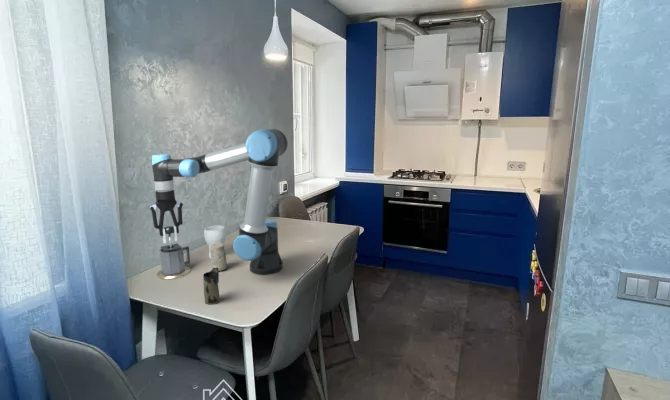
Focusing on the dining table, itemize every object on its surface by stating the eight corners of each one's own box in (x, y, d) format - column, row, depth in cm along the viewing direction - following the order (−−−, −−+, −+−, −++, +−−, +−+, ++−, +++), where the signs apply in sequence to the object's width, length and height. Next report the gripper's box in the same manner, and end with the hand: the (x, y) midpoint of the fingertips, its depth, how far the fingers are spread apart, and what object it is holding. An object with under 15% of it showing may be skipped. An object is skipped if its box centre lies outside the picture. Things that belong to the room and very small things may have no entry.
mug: (215, 305, 136) (212, 275, 134) (201, 304, 137) (199, 274, 135) (225, 295, 144) (223, 267, 141) (212, 294, 145) (210, 266, 142)
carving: (218, 265, 174) (216, 241, 171) (230, 268, 170) (228, 244, 168) (208, 270, 168) (206, 245, 166) (220, 273, 165) (218, 248, 163)
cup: (221, 260, 180) (219, 231, 177) (201, 259, 182) (199, 230, 179) (231, 253, 191) (229, 225, 187) (212, 252, 193) (210, 224, 190)
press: (195, 273, 165) (192, 247, 162) (160, 282, 156) (157, 254, 154) (186, 264, 176) (184, 240, 173) (153, 271, 168) (150, 246, 165)
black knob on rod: (182, 268, 165) (178, 227, 161) (167, 271, 161) (162, 230, 157) (178, 264, 170) (174, 224, 166) (163, 267, 166) (159, 227, 162)
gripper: (182, 186, 166) (187, 236, 171) (141, 191, 156) (147, 243, 161) (187, 189, 160) (192, 240, 165) (144, 193, 150) (151, 247, 155)
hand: (170, 241), depth 163 cm, fingers closed on black knob on rod, 4 cm apart
